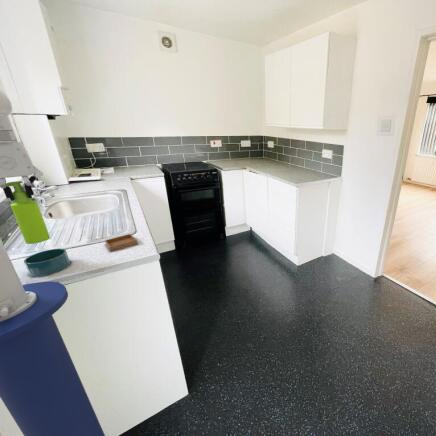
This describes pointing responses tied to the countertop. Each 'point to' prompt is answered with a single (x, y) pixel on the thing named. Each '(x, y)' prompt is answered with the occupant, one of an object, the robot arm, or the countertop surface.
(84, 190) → the countertop surface
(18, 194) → the soap dispenser
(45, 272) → the bowl
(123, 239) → the tray
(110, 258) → the countertop surface
